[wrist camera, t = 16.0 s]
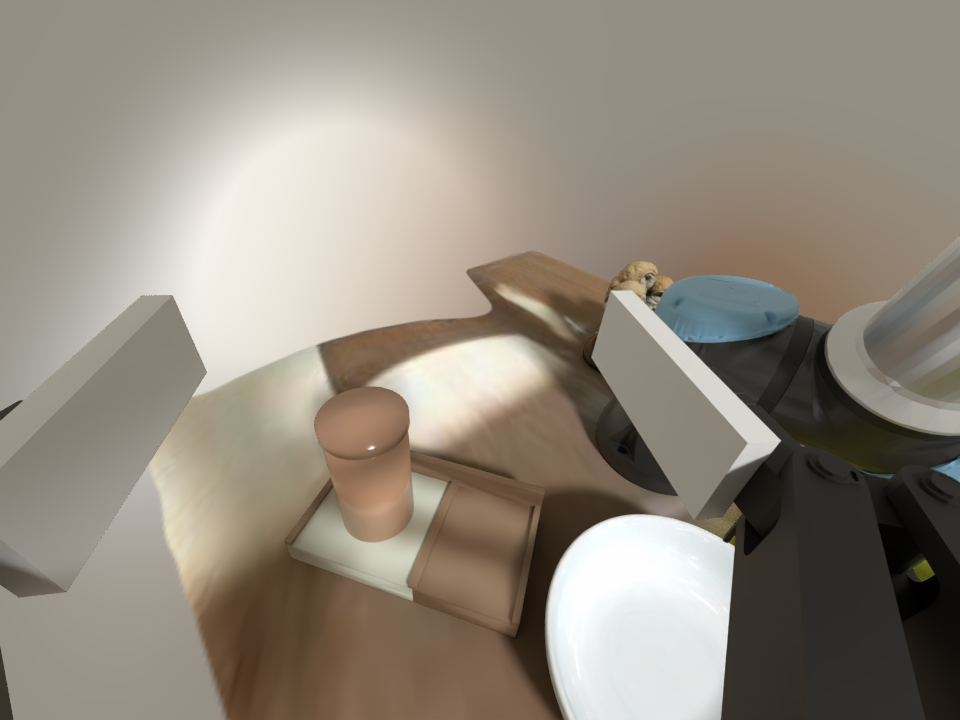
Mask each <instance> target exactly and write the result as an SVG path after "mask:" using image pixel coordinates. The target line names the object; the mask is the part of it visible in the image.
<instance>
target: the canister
mask: <svg viewBox="0 0 960 720" xmlns="http://www.w3.org/2000/svg"><path fill="white" fill-rule="evenodd" d="M409 424H410V418H409V409H408V405H407V403H406V402H405V400H404V399H403V398H402V397H401V396H400V395H399V394H397V393H395V392H394V391H391V390H389V389H386V388H381V387H359V388H354V389H351V390H347V391H345V392H342V393H340V394H338V395H336V396H334V397H333V398H331V399H330V400H329V401H327V402H326V403H325V404H324V405H323V406H322V407H321V408H320V410H319V411H318V413H317V415H316V418H315V424H314V427H315V432H316V435H317V439H318V442H319V444H320V446H321V447H322V448H323V450H324V454H325V458H326V461H327V465H328V469H329V472H330V476H331V480H332V483H333V487H334V490H335V494H336V498H337V501H338V505H339V509H340V512H341V516H342V520H343V523H344V526H345V528H346V530H347V531H348V533H349V534H350V535H351V536H353V537H354V538H356V539H358V540H360V541H363V542H370V543H375V542H381V541H385V540H388V539H390V538H392V537H394V536H396V535H397V534H399V533H400V532H401V531H402V530H403V529H404V528H405V527H406V526H407V525H408V523H409V522H410V520H411V518H412V515H413V512H414V497H413V485H412V472H411V460H410V448H409V436H408V429H409Z"/></svg>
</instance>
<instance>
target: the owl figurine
mask: <svg viewBox="0 0 960 720" xmlns="http://www.w3.org/2000/svg"><path fill="white" fill-rule="evenodd" d="M657 274H658V271H657V268H656V266H655V265H653V264H652V263H650V262H643V261H639V262H633V263H631V264H628V265H627V266H626V267H625V268H624V269H623V270H622V271H621V272H620V274H619V276H616V277H615V278H613V280H612V281H611V283H610V285H609V288H608V291H607V293H606V298H605V301H604V302H605V304H604V305H603V315H604V312H605V309H606V305H607V302H608V298H609V295H610V291H628V290H632V291H633V292H634V293H635V294H636V295H637V296H638V297H639V298H640V299H641V300H642V301H643V302H644V303H645V304H646V305H647V306H648V307H649V308H650V309H651V310H652V311H653V312H655V309H656V307H657V305H658V303H659V301H660V298H661V296H662V294H663V293H664V291H665V290H666V289H667V288H668V287H669V286H670V285H672V284H673V281H672V280H671V279H670V278H668V277H666V276H657ZM599 329H600V328H599ZM598 333H599V330H598V331H596V332H595V336H593V337H592V338H590V339H589V340H588V342H587V343H586V345H585V347H584V351H583V358H584V359H585V360H586V362H587V364H589V365H590V366H592V367H594V368H596V369H598V367H597V366H596V364H595V362H594V361H593V359H592V358H591V357H592V353H593V350H594V346H595V343H596V339H597V336H598ZM598 370H599V369H598ZM599 371H600V370H599Z"/></svg>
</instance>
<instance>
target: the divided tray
mask: <svg viewBox="0 0 960 720" xmlns="http://www.w3.org/2000/svg"><path fill="white" fill-rule="evenodd" d="M410 460H411V472H412V485H413V497H414V512H413V515H412V518H411V520H410V522H409V523H408V525H407V526H406V527H405V528H404V529H403V530H402V531H401V532H400V533H399V534H397V535H396V536H394V537H392V538H390V539H388V540H385V541H381V542H375V543H370V542H363V541H360V540H358V539H356V538H354V537H353V536H351V535H350V534H349V533H348V531H347V530H346V528H345V526H344V523H343V520H342V516H341V512H340V509H339V505H338V501H337V498H336V494H335V490H334V487H333V483H332V480H331V478H330V479H329V481H328V482H327V484H326V485H325V486H324V488H323V489H322V490H321V492H320V493H319V495H318V496H317V497H316V499H315V500H314V501H313V503H312V504H311V506H310V507H309V508H308V510H307V511H306V512H305V514H304V515H303V517H302V518H301V519H300V521H299V522H298V523H297V525H296V526H295V527H294V529H293V530H292V532H291V533H290V534H289V536H288V537H287V538H286V540H285V544H286V546H287V548H288V551H289V553H290V555H291V557H292V558H294V559H297V560H299V561H302V562H305V563H308V564H310V565H313V566H316V567H319V568H321V569H324V570H327V571H330V572H333V573H335V574H338V575H341V576H344V577H346V578H349V579H352V580H355V581H358V582H360V583H363V584H366V585H369V586H371V587H374V588H377V589H380V590H383V591H385V592H388V593H391V594H394V595H396V596H399V597H402V598H405V599H407V600H410V601H413V602H416V603H419V604H421V605H424V606H427V607H430V608H432V609H435V610H438V611H441V612H444V613H446V614H449V615H452V616H455V617H457V618H460V619H463V620H466V621H468V622H471V623H474V624H477V625H480V626H482V627H485V628H488V629H491V630H493V631H496V632H499V633H502V634H505V635H507V636H510V637H513V638H515V636H516V633H517V630H518V627H519V623H520V618H521V612H522V607H523V602H524V596H525V591H526V585H527V580H528V575H529V569H530V564H531V559H532V553H533V548H534V542H535V537H536V532H537V526H538V521H539V516H540V510H541V505H542V502H543V498H544V494H545V488H542V487H538V486H535V485H531V484H527V483H524V482H520V481H517V480H513V479H510V478H506V477H503V476H499V475H496V474H492V473H489V472H485V471H481V470H478V469H474V468H471V467H467V466H464V465H460V464H457V463H453V462H450V461H446V460H443V459H439V458H436V457H432V456H428V455H425V454H421V453H418V452H414V451H411V450H410Z"/></svg>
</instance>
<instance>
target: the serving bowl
mask: <svg viewBox="0 0 960 720" xmlns="http://www.w3.org/2000/svg"><path fill="white" fill-rule="evenodd" d="M734 550H735V547H734V546H733V545H731V544H730V543H726V542H724V541H723V539H721V538H720V537H718V536H716V535H714V534H712V533H710V532H708V531H706V530H704V529H702V528H699V527H697V526H694V525H692V524H689V523H686V522H683V521H680V520H677V519H673V518H669V517H664V516H659V515H650V514H630V515H623V516H618V517H614V518H610V519H607V520H604V521H602V522H600V523H598V524H596V525H594V526H592V527H590V528H589V529H587V530H586V531H584V532H583V533H582V534H581V535H580V536H578V537H577V538H576V539H575V540H574V541H573V542H572V543H571V545H570V546H569V547H568V548H567V550H566V551H565V553H564V554H563V556H562V557H561V559H560V561H559V563H558V565H557V567H556V569H555V572H554V574H553V577H552V580H551V584H550V587H549V591H548V596H547V603H546V611H545V644H546V654H547V661H548V667H549V672H550V676H551V681H552V685H553V688H554V692H555V695H556V699H557V702H558V704H559V707H560V710H561V713H562V715H563V718H564V720H721V711H722V699H723V687H724V674H725V662H726V649H727V637H728V625H729V612H730V600H731V587H732V575H733V563H734Z"/></svg>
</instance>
